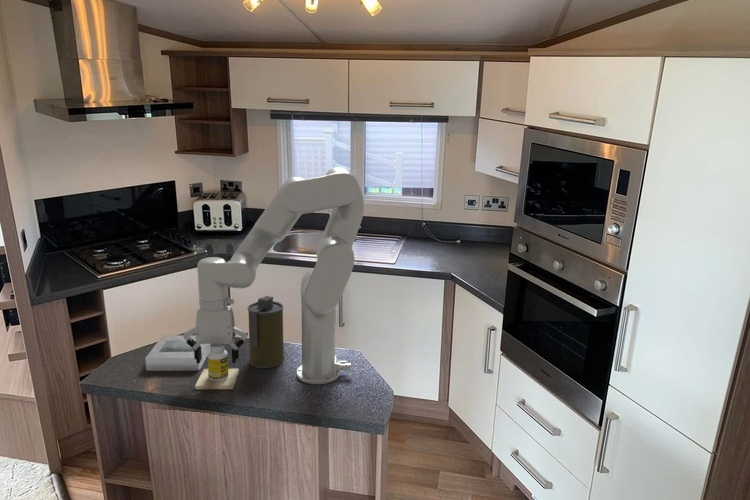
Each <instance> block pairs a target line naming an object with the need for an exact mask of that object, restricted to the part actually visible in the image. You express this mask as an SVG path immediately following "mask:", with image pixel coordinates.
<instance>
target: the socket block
mask: <svg viewBox="0 0 750 500" xmlns="http://www.w3.org/2000/svg"><path fill="white" fill-rule="evenodd" d="M190 337H191V338H192V339H193V340H194V341H196V334H195V335H194V334H193V335H190ZM200 346H201V352H202V359H201V361H200V363H199V364H197V362H196V359H195V358H194V350H193V349H192V347H191V346H189V345H188V344H187V341H186V340H185V339H184V337H183V334H182V335H179V334H177V335H172V334H171V335H168V334H166V335H162V336H161V337H160V338H159V339H158V341H157V342H156V343H155V345H154V346H153V347H152V349H151V350H150V351H149V353H148V354H147V355H146V357H145V358H144V359H145V370H146V371H147V372H152V371H154V372H156V371H157V372H160V371H162V372H163V371H164V372H166V371H167V372H168V371H169V372H170V371H173V372H175V371H178V372H180V371H182V372H183V371H190V372H191V371H200V370H201V369H202V367H203V365H204V363H205V361H206V359H207V358H208V353H209V352H210V344H201V345H200Z"/></svg>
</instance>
